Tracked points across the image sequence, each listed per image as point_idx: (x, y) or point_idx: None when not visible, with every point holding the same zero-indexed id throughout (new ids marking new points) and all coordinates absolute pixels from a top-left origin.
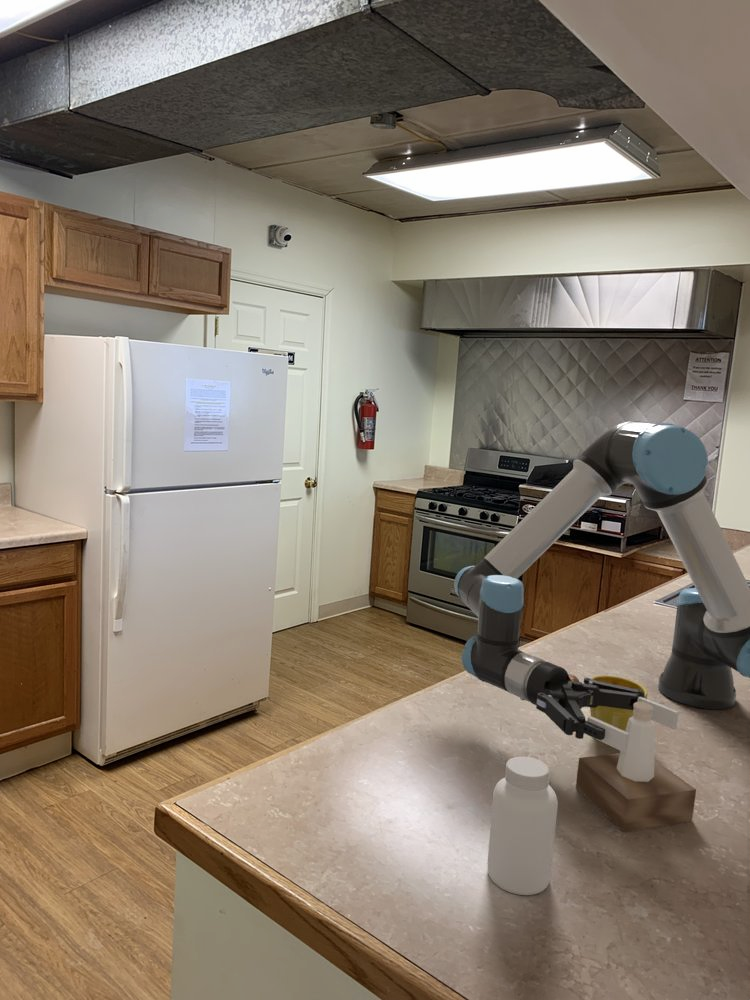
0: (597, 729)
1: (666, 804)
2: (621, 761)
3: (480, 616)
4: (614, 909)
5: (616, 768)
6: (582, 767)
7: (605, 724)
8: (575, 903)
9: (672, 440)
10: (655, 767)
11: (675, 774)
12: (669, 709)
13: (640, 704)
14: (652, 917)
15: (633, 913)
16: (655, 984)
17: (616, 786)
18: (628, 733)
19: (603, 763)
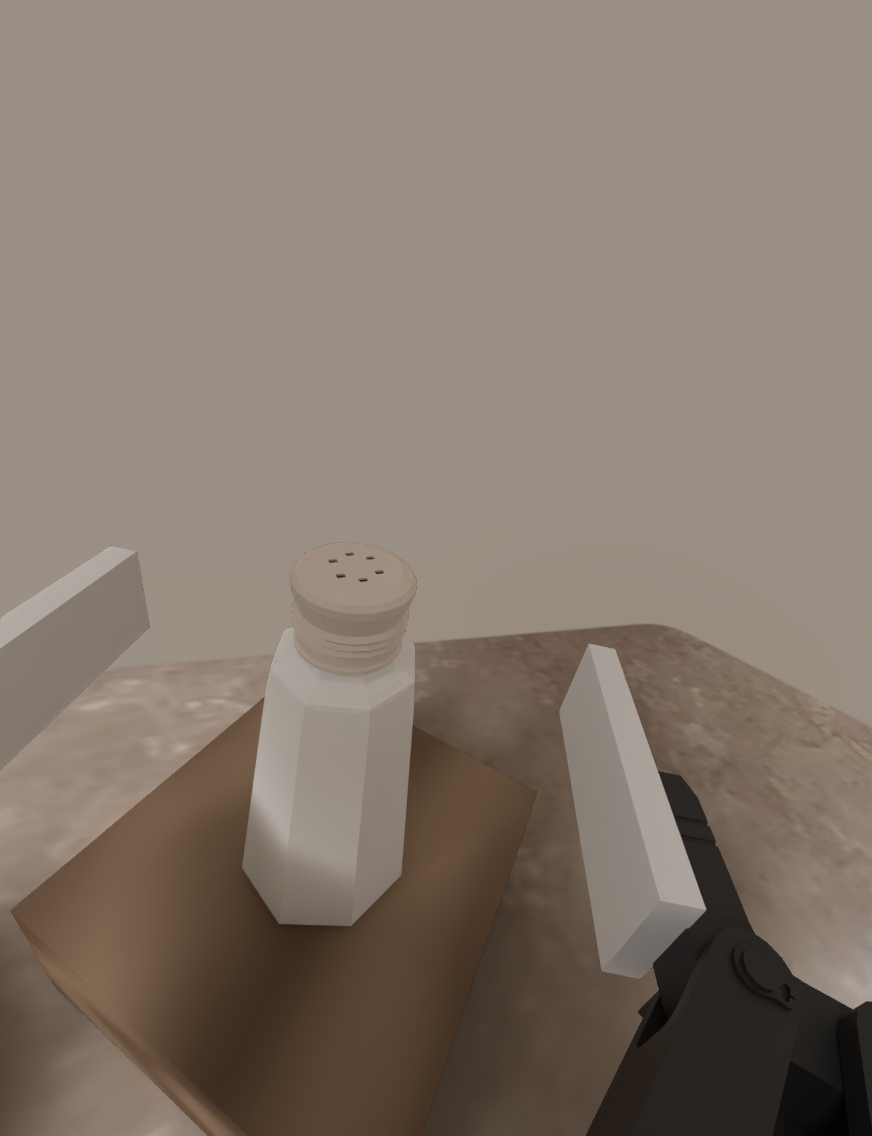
0: (696, 801)
1: None
2: (381, 864)
3: None
4: (749, 767)
5: (341, 932)
6: None
7: (643, 754)
8: (833, 831)
9: None
10: (209, 794)
11: (230, 726)
12: (96, 571)
13: (364, 577)
14: (686, 716)
15: (716, 740)
16: (775, 683)
17: (497, 858)
18: (593, 646)
19: (334, 1026)
